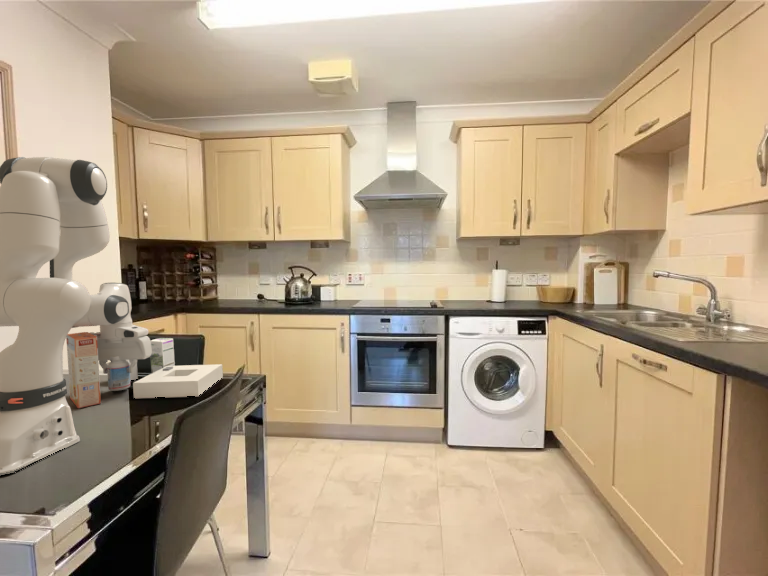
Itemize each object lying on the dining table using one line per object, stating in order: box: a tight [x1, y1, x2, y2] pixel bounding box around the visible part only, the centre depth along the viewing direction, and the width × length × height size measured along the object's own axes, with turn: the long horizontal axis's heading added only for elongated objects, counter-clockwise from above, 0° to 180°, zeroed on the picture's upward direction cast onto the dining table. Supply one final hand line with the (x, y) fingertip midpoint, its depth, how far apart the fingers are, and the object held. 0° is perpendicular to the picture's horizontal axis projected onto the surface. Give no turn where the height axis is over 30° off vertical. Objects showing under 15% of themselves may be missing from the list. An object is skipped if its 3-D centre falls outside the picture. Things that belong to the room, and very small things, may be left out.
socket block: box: [132, 363, 224, 399], centre depth 129 cm, size 20×20×6 cm
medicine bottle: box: [106, 360, 139, 382], centre depth 138 cm, size 7×7×12 cm
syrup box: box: [149, 337, 176, 374], centre depth 141 cm, size 6×6×14 cm
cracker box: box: [65, 331, 101, 409], centre depth 117 cm, size 14×6×21 cm, turn 47°
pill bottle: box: [107, 356, 131, 392], centre depth 126 cm, size 6×6×11 cm
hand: (119, 372), depth 126 cm, fingers closed on pill bottle, 6 cm apart
